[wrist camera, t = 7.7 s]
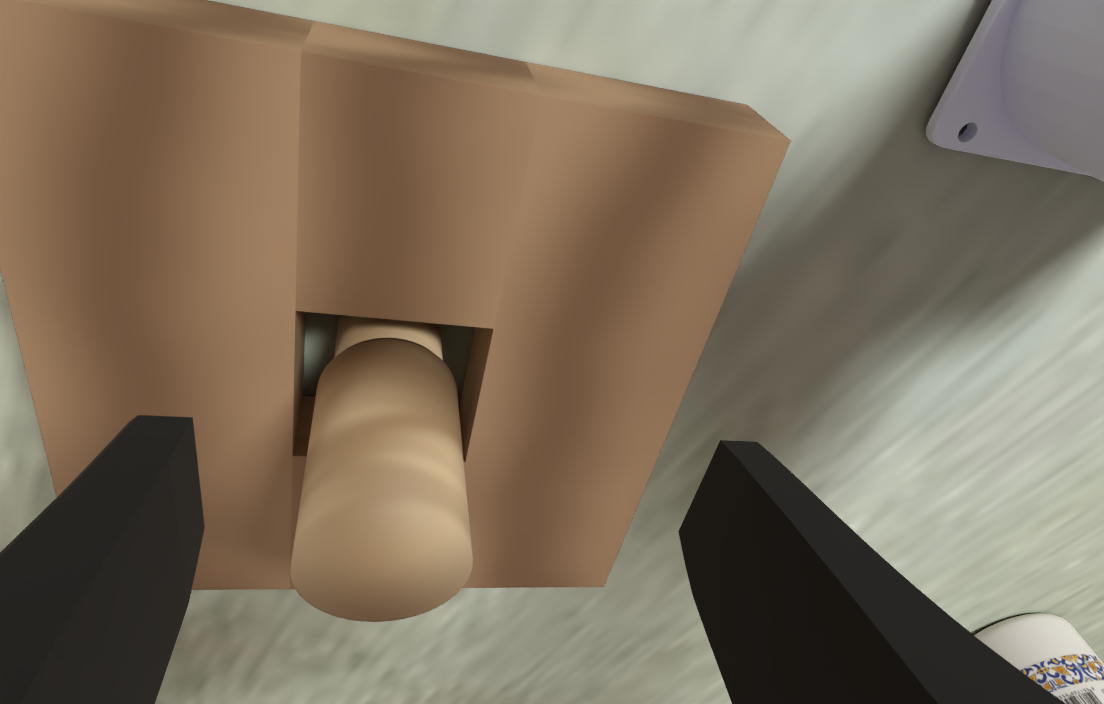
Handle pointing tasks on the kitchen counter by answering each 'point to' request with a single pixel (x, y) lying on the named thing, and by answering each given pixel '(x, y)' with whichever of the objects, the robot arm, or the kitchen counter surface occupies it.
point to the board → (361, 257)
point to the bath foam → (1049, 656)
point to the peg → (383, 478)
